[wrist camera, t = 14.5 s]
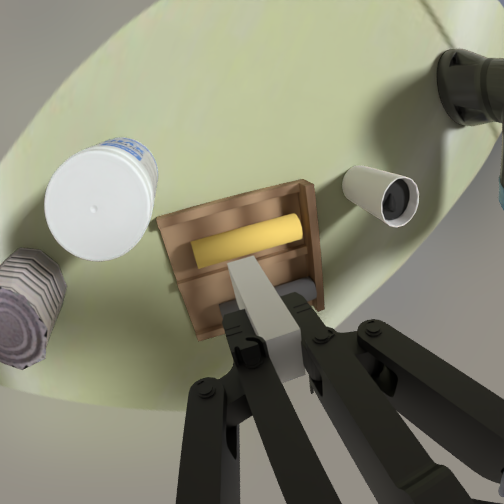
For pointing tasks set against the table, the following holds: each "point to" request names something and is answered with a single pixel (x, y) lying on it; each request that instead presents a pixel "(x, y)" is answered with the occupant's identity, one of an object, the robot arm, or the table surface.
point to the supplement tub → (102, 199)
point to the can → (28, 306)
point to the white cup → (382, 194)
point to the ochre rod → (246, 240)
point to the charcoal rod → (280, 293)
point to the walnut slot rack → (271, 260)
